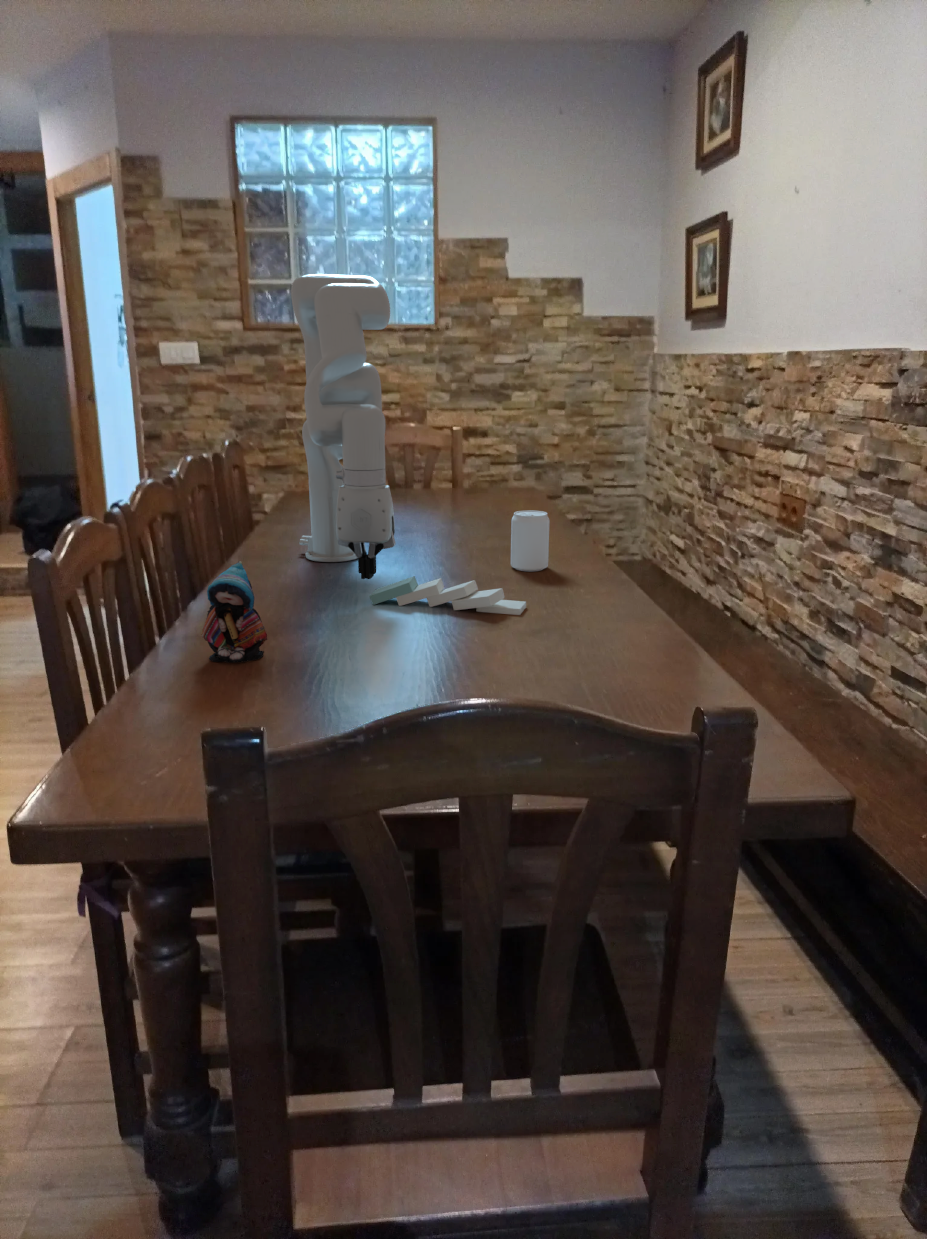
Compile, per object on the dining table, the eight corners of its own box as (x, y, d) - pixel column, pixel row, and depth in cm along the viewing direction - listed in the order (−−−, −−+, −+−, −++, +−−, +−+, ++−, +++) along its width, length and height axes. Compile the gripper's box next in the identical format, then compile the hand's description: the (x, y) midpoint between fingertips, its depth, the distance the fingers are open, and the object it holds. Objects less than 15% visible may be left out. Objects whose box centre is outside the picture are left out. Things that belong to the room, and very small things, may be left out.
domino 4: (451, 600, 155) (488, 596, 151) (466, 592, 159) (502, 588, 155) (454, 610, 156) (490, 606, 151) (468, 602, 160) (504, 597, 155)
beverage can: (545, 573, 183) (547, 517, 179) (507, 571, 184) (508, 515, 181) (549, 564, 190) (551, 510, 187) (513, 563, 192) (514, 509, 188)
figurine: (196, 668, 127) (187, 568, 122) (210, 652, 133) (202, 557, 129) (264, 668, 126) (257, 569, 122) (275, 653, 133) (269, 557, 129)
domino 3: (426, 598, 157) (463, 586, 154) (438, 591, 162) (474, 579, 158) (429, 607, 158) (467, 596, 154) (441, 600, 162) (478, 589, 158)
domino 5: (476, 605, 155) (520, 609, 153) (483, 598, 160) (526, 601, 157) (476, 614, 156) (519, 618, 153) (483, 607, 160) (525, 611, 158)
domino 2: (395, 597, 158) (436, 584, 156) (401, 590, 163) (441, 578, 161) (399, 606, 158) (439, 593, 157) (405, 599, 163) (444, 586, 161)
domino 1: (369, 596, 159) (408, 582, 157) (376, 589, 163) (414, 575, 161) (373, 605, 159) (412, 591, 157) (379, 597, 164) (418, 584, 162)
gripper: (317, 480, 153) (322, 580, 158) (399, 482, 151) (401, 584, 156) (331, 474, 160) (335, 570, 166) (410, 476, 158) (411, 574, 163)
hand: (367, 577), depth 161 cm, fingers closed
